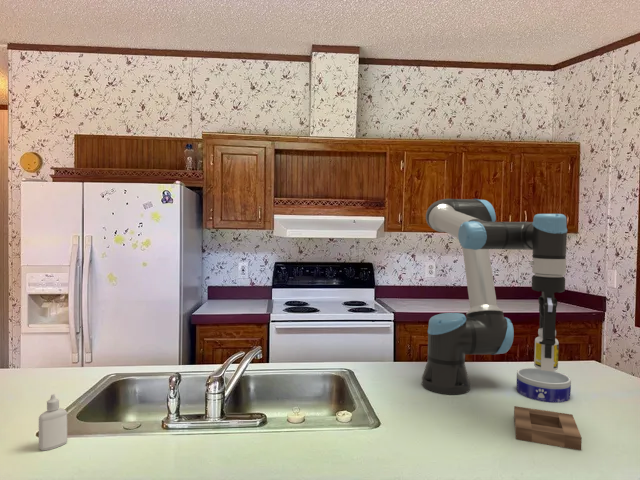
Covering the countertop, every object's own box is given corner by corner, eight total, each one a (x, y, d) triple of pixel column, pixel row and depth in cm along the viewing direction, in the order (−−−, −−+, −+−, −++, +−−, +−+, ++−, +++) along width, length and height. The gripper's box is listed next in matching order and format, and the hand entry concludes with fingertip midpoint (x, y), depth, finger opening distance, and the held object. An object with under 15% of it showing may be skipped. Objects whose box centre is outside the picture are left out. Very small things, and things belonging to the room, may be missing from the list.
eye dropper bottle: (65, 448, 103) (64, 396, 103) (36, 452, 101) (36, 399, 101) (68, 439, 107) (68, 390, 107) (41, 443, 105) (41, 392, 105)
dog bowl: (569, 390, 144) (570, 371, 144) (571, 407, 131) (572, 386, 131) (517, 382, 151) (518, 364, 151) (514, 397, 138) (515, 378, 138)
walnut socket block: (514, 416, 123) (514, 406, 123) (572, 425, 118) (572, 414, 118) (516, 439, 110) (516, 427, 110) (581, 450, 105) (581, 437, 105)
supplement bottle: (561, 372, 110) (562, 332, 110) (537, 370, 111) (538, 331, 111) (554, 365, 116) (555, 327, 115) (531, 364, 117) (532, 326, 116)
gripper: (529, 271, 123) (527, 355, 123) (534, 278, 106) (531, 375, 106) (560, 272, 120) (558, 358, 121) (570, 279, 103) (567, 380, 104)
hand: (545, 366), depth 113 cm, fingers closed on supplement bottle, 5 cm apart
